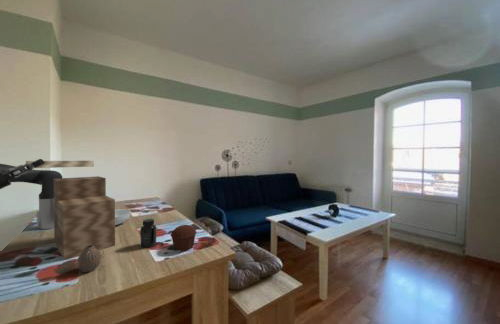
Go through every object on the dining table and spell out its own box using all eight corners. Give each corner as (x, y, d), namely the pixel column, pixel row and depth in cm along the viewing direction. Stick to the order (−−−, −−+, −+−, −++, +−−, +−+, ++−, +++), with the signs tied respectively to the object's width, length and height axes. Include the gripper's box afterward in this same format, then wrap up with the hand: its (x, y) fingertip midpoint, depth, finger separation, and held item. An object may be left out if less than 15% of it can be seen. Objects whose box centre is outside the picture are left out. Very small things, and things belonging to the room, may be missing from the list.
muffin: (189, 240, 103) (189, 220, 103) (201, 247, 95) (201, 226, 95) (166, 247, 95) (166, 226, 95) (176, 255, 87) (176, 232, 87)
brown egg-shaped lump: (86, 264, 79) (86, 242, 79) (105, 264, 79) (105, 242, 79) (72, 275, 72) (72, 250, 72) (92, 274, 72) (92, 250, 72)
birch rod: (26, 168, 85) (26, 161, 85) (25, 167, 87) (25, 160, 87) (93, 166, 103) (93, 160, 103) (92, 166, 105) (92, 160, 104)
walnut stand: (63, 260, 82) (63, 184, 81) (54, 242, 98) (53, 178, 98) (115, 245, 96) (114, 180, 95) (99, 231, 112) (98, 176, 111)
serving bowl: (137, 222, 129) (137, 212, 128) (99, 233, 111) (99, 220, 111) (120, 217, 139) (120, 207, 139) (83, 225, 122) (83, 214, 121)
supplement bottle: (159, 243, 99) (159, 218, 99) (148, 249, 93) (148, 223, 92) (148, 240, 101) (148, 217, 101) (137, 246, 95) (137, 221, 95)
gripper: (-22, 176, 73) (38, 153, 84) (-19, 173, 82) (35, 153, 93) (-5, 193, 76) (51, 168, 87) (-4, 188, 85) (47, 167, 96)
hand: (42, 160), depth 90 cm, fingers closed on birch rod, 3 cm apart
